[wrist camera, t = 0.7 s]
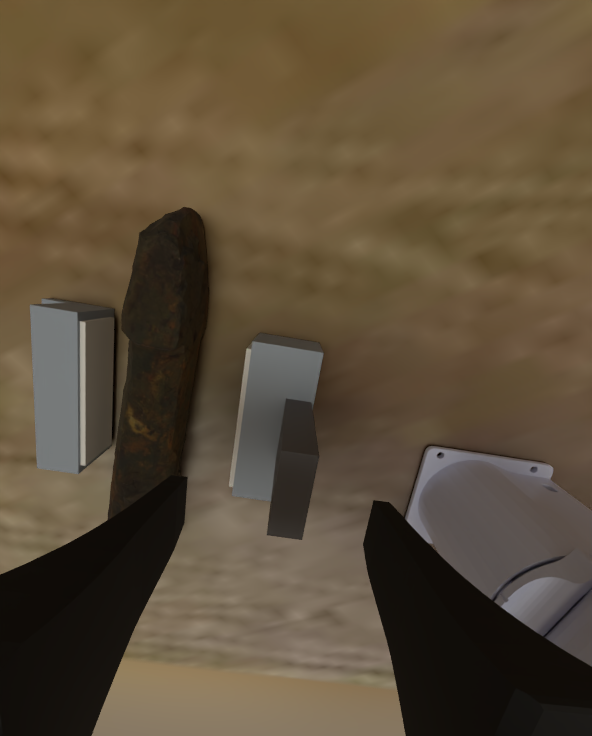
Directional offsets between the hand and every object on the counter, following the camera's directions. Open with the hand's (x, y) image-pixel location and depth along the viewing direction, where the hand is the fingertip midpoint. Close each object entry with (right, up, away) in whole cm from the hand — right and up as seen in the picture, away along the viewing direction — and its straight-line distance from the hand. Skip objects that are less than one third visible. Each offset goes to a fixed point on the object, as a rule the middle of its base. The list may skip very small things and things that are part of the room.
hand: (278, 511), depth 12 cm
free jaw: (-1, +3, +10) cm, 10 cm away
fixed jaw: (-13, +5, +9) cm, 17 cm away
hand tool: (-9, +4, +10) cm, 14 cm away
